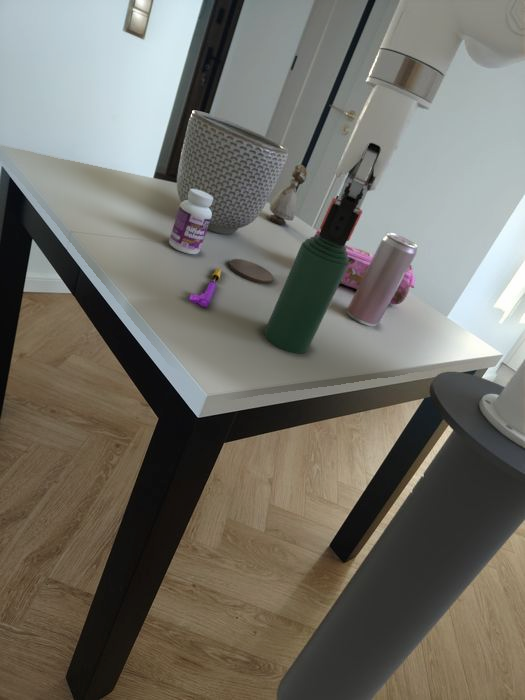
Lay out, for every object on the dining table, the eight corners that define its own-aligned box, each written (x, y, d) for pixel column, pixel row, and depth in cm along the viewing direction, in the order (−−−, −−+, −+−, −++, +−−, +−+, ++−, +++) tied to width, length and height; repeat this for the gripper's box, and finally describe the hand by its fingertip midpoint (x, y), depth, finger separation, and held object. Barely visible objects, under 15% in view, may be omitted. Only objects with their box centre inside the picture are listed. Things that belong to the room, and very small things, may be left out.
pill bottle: (181, 255, 82) (199, 198, 78) (162, 240, 85) (178, 184, 81) (205, 255, 86) (224, 201, 82) (186, 241, 89) (203, 188, 85)
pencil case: (301, 277, 97) (320, 234, 93) (299, 262, 105) (316, 222, 101) (401, 315, 100) (424, 275, 96) (392, 298, 108) (412, 260, 104)
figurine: (263, 213, 132) (285, 156, 126) (286, 221, 134) (309, 166, 128) (268, 222, 125) (291, 162, 119) (293, 231, 127) (317, 172, 121)
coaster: (279, 279, 90) (280, 276, 90) (262, 287, 83) (263, 284, 83) (241, 259, 92) (242, 256, 92) (221, 265, 85) (222, 262, 85)
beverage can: (348, 306, 92) (387, 229, 85) (378, 321, 91) (420, 244, 85) (343, 315, 86) (384, 234, 80) (375, 331, 86) (419, 250, 79)
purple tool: (207, 309, 68) (222, 273, 82) (208, 300, 67) (223, 266, 82) (187, 306, 68) (206, 271, 82) (188, 298, 67) (206, 264, 82)
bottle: (313, 344, 71) (373, 220, 63) (299, 358, 65) (363, 224, 57) (274, 323, 72) (328, 199, 64) (256, 335, 67) (313, 201, 59)
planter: (145, 208, 97) (173, 104, 88) (188, 200, 114) (215, 113, 106) (235, 252, 94) (274, 150, 86) (266, 237, 112) (300, 151, 104)
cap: (349, 244, 61) (363, 214, 59) (319, 231, 60) (333, 201, 59) (348, 236, 64) (361, 208, 62) (319, 225, 64) (332, 196, 62)
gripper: (370, 76, 63) (312, 213, 70) (371, 57, 47) (296, 236, 55) (426, 100, 62) (362, 235, 70) (446, 89, 47) (360, 264, 54)
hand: (333, 234), depth 62 cm, fingers open, 6 cm apart
